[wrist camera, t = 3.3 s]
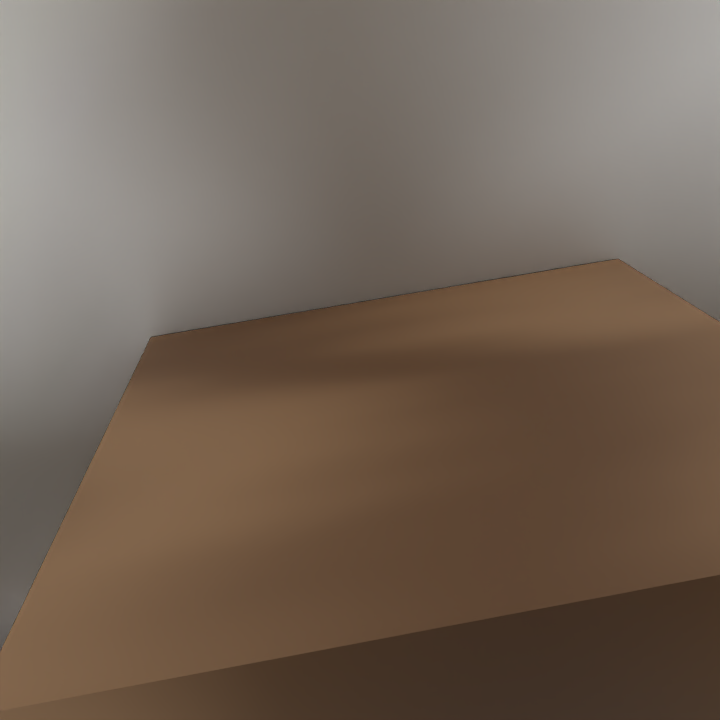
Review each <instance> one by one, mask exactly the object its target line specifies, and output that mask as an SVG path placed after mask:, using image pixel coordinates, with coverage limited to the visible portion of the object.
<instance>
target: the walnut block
mask: <svg viewBox="0 0 720 720" xmlns="http://www.w3.org/2000/svg"><path fill="white" fill-rule="evenodd" d="M0 720H720V322H719V321H717V320H716V319H714V318H712V317H711V316H709V315H708V314H706V313H704V312H703V311H701V310H700V309H698V308H696V307H695V306H693V305H692V304H690V303H688V302H687V301H685V300H684V299H682V298H680V297H679V296H677V295H676V294H674V293H672V292H671V291H669V290H668V289H666V288H664V287H663V286H661V285H660V284H658V283H656V282H655V281H653V280H652V279H650V278H648V277H647V276H645V275H644V274H642V273H640V272H639V271H637V270H635V269H634V268H632V267H631V266H629V265H627V264H626V263H624V262H623V261H621V260H619V259H614V260H608V261H602V262H596V263H590V264H584V265H578V266H572V267H566V268H560V269H555V270H549V271H543V272H537V273H531V274H525V275H519V276H513V277H507V278H501V279H495V280H489V281H483V282H477V283H471V284H465V285H459V286H453V287H447V288H441V289H435V290H429V291H423V292H417V293H411V294H405V295H399V296H393V297H387V298H382V299H376V300H370V301H364V302H358V303H352V304H346V305H340V306H334V307H328V308H322V309H316V310H310V311H304V312H298V313H292V314H286V315H280V316H274V317H268V318H262V319H256V320H250V321H244V322H238V323H232V324H226V325H220V326H214V327H209V328H203V329H197V330H191V331H185V332H179V333H173V334H167V335H161V336H155V337H151V338H150V340H149V342H148V344H147V346H146V348H145V350H144V352H143V354H142V356H141V358H140V361H139V363H138V365H137V367H136V369H135V371H134V373H133V375H132V377H131V379H130V381H129V384H128V386H127V388H126V390H125V392H124V394H123V396H122V398H121V400H120V402H119V404H118V407H117V409H116V411H115V413H114V415H113V417H112V419H111V421H110V423H109V425H108V427H107V430H106V432H105V434H104V436H103V438H102V440H101V442H100V444H99V446H98V448H97V450H96V453H95V455H94V457H93V459H92V461H91V463H90V465H89V467H88V469H87V471H86V473H85V476H84V478H83V480H82V482H81V484H80V486H79V488H78V490H77V492H76V494H75V496H74V498H73V501H72V503H71V505H70V507H69V509H68V511H67V513H66V515H65V517H64V519H63V521H62V524H61V526H60V528H59V530H58V532H57V534H56V536H55V538H54V540H53V542H52V544H51V547H50V549H49V551H48V553H47V555H46V557H45V559H44V561H43V563H42V565H41V567H40V570H39V572H38V574H37V576H36V578H35V580H34V582H33V584H32V586H31V588H30V590H29V593H28V595H27V597H26V599H25V601H24V603H23V605H22V607H21V609H20V611H19V613H18V616H17V618H16V620H15V622H14V624H13V626H12V628H11V630H10V632H9V634H8V636H7V639H6V641H5V643H4V645H3V647H2V649H1V651H0Z"/></svg>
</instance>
